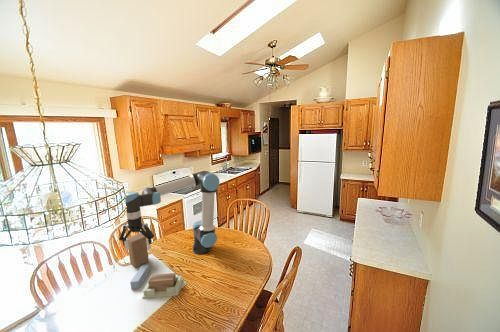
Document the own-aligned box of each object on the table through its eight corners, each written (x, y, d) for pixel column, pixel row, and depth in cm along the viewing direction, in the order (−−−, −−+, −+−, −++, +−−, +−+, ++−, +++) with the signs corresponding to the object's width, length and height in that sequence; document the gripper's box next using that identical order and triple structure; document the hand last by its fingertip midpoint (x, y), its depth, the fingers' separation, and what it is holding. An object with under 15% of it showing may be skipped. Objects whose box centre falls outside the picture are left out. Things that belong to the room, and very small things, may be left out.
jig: (151, 282, 132) (150, 276, 131) (183, 279, 133) (182, 274, 133) (142, 298, 119) (141, 292, 119) (177, 295, 121) (177, 289, 120)
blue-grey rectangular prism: (142, 271, 143) (141, 265, 142) (149, 271, 143) (148, 264, 142) (131, 289, 127) (130, 281, 126) (138, 288, 127) (137, 281, 126)
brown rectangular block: (153, 284, 128) (152, 274, 127) (176, 282, 130) (175, 272, 128) (149, 292, 123) (148, 281, 121) (173, 290, 124) (172, 279, 122)
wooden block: (149, 261, 153) (146, 236, 150) (134, 268, 146) (131, 242, 143) (144, 256, 160) (141, 232, 157) (130, 262, 153) (126, 237, 149)
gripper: (109, 220, 122) (114, 253, 126) (152, 218, 123) (156, 251, 127) (116, 215, 130) (121, 246, 133) (157, 214, 131) (160, 244, 134)
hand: (138, 249), depth 130 cm, fingers open, 13 cm apart
